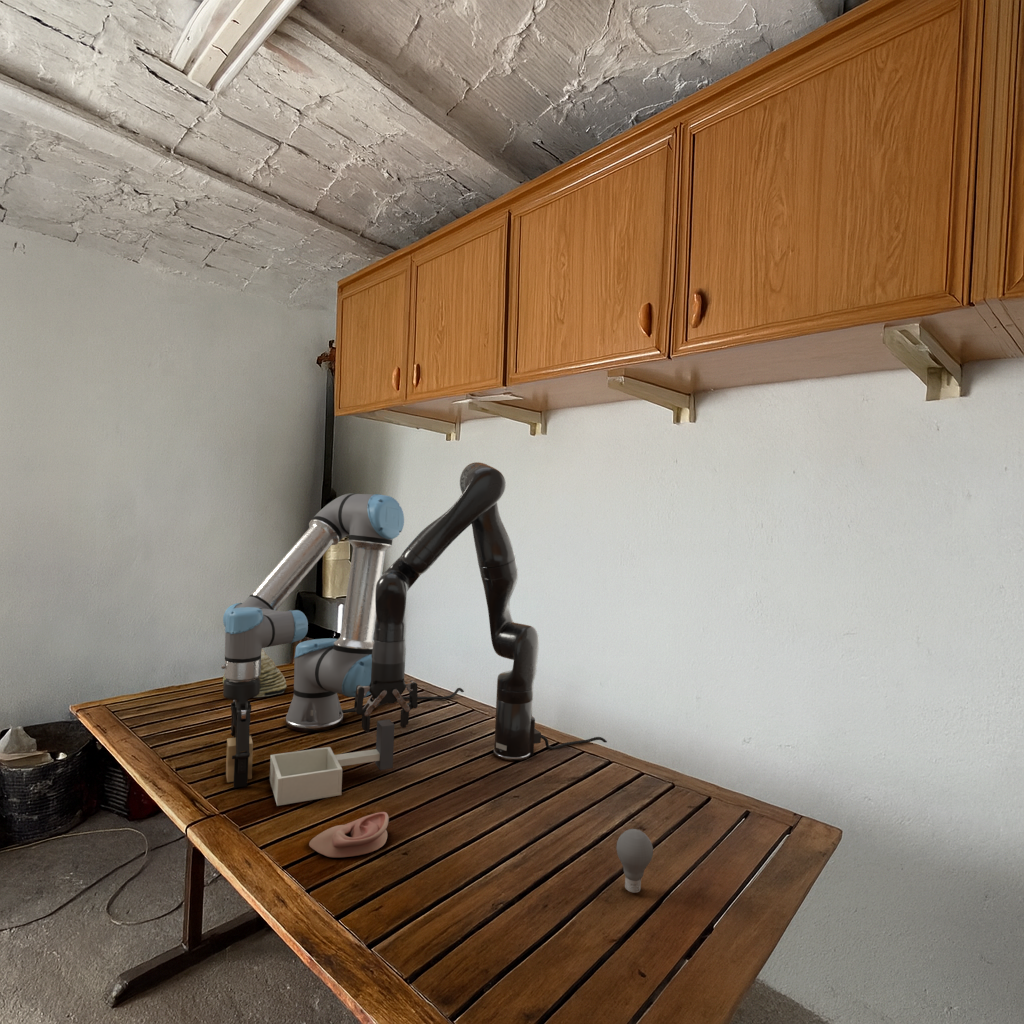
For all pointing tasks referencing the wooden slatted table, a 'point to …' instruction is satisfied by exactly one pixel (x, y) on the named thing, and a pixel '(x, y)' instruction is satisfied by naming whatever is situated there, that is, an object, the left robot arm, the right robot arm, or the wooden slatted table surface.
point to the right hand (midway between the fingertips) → (385, 729)
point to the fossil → (269, 678)
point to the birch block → (230, 762)
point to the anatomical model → (353, 837)
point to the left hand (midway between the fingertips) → (238, 775)
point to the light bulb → (634, 857)
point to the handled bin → (324, 768)
